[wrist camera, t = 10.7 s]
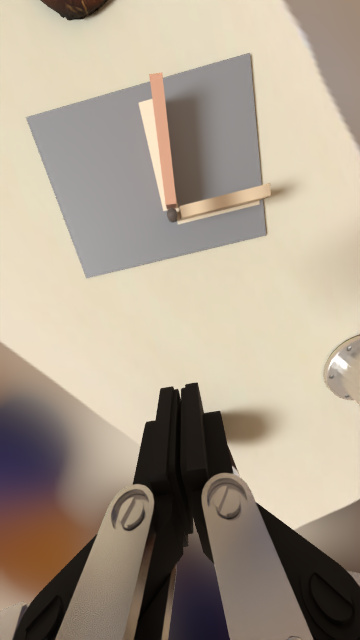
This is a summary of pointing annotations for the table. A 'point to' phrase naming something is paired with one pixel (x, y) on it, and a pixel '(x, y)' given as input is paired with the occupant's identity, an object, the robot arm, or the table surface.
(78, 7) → the bread roll
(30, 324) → the table surface
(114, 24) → the table surface
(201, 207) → the fixed fence section
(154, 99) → the folding fence panel
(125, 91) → the card
